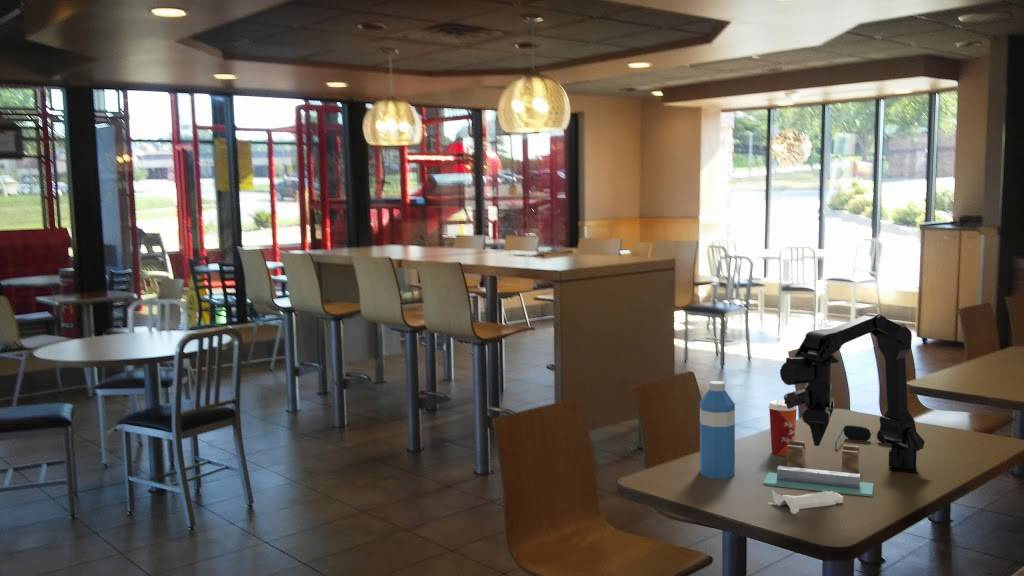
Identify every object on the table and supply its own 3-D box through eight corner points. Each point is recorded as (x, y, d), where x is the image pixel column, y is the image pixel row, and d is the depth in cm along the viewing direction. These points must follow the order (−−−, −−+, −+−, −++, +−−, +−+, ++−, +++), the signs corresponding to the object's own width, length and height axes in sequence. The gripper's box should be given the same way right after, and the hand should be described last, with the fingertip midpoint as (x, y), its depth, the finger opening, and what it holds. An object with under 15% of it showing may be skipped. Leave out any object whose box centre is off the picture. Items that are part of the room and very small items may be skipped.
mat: (873, 485, 223) (873, 483, 223) (872, 496, 215) (872, 494, 215) (768, 474, 233) (768, 472, 233) (763, 484, 225) (763, 482, 225)
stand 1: (804, 464, 242) (804, 441, 241) (802, 470, 236) (802, 447, 235) (789, 462, 243) (789, 440, 242) (787, 469, 238) (787, 445, 237)
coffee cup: (791, 459, 247) (792, 407, 245) (763, 454, 252) (763, 403, 250) (801, 451, 253) (802, 401, 252) (774, 447, 258) (774, 398, 257)
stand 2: (858, 469, 236) (859, 446, 235) (857, 476, 230) (858, 452, 230) (843, 468, 237) (843, 444, 237) (841, 474, 232) (842, 450, 231)
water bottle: (737, 470, 238) (738, 380, 235) (731, 480, 229) (731, 387, 227) (703, 466, 242) (703, 378, 239) (696, 476, 233) (695, 384, 231)
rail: (859, 485, 221) (860, 474, 221) (859, 489, 219) (859, 477, 218) (778, 476, 229) (778, 465, 229) (776, 480, 227) (777, 469, 226)
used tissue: (764, 503, 213) (764, 487, 213) (835, 499, 215) (835, 483, 215) (782, 518, 203) (782, 502, 202) (856, 514, 204) (856, 497, 204)
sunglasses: (905, 446, 258) (905, 430, 257) (898, 465, 246) (898, 449, 245) (843, 439, 267) (843, 424, 266) (834, 457, 255) (834, 441, 254)
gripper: (790, 372, 233) (789, 429, 235) (781, 386, 216) (780, 447, 218) (834, 375, 229) (833, 433, 230) (829, 389, 212) (828, 452, 213)
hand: (818, 441), depth 223 cm, fingers open, 9 cm apart
